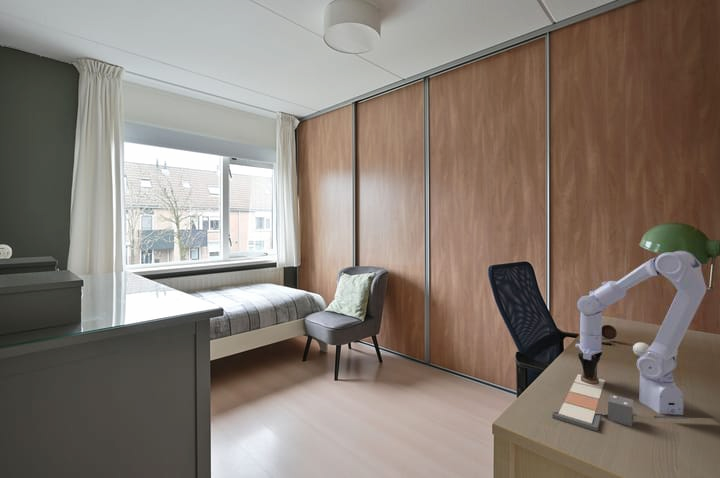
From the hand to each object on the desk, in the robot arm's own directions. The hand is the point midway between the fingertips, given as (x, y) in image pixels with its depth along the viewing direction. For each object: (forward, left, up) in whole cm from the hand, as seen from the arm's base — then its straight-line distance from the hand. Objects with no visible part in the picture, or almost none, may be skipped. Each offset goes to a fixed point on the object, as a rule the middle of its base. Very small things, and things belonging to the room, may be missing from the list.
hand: (589, 375), depth 112 cm
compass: (+42, -29, -3) cm, 51 cm away
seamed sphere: (+27, -32, -3) cm, 42 cm away
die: (-20, +3, -3) cm, 20 cm away
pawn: (0, 0, -2) cm, 2 cm away
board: (-10, +7, -3) cm, 12 cm away
